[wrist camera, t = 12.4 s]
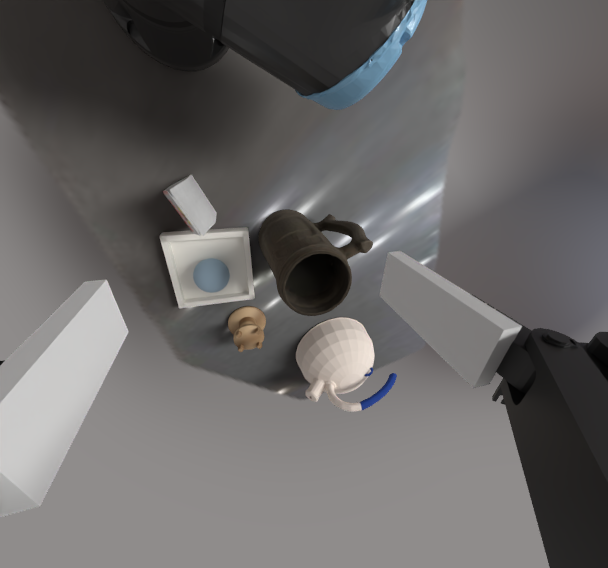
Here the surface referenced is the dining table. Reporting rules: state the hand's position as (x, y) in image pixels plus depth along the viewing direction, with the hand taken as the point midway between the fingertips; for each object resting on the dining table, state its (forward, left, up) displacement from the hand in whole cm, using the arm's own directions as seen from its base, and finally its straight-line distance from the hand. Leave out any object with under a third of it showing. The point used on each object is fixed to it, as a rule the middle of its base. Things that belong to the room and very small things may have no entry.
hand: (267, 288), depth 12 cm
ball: (+14, -6, -34) cm, 37 cm away
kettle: (+41, +20, -35) cm, 58 cm away
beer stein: (+8, +10, -35) cm, 37 cm away
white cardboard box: (+2, -7, -35) cm, 36 cm away
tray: (+14, -6, -35) cm, 38 cm away
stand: (+28, -1, -35) cm, 45 cm away
